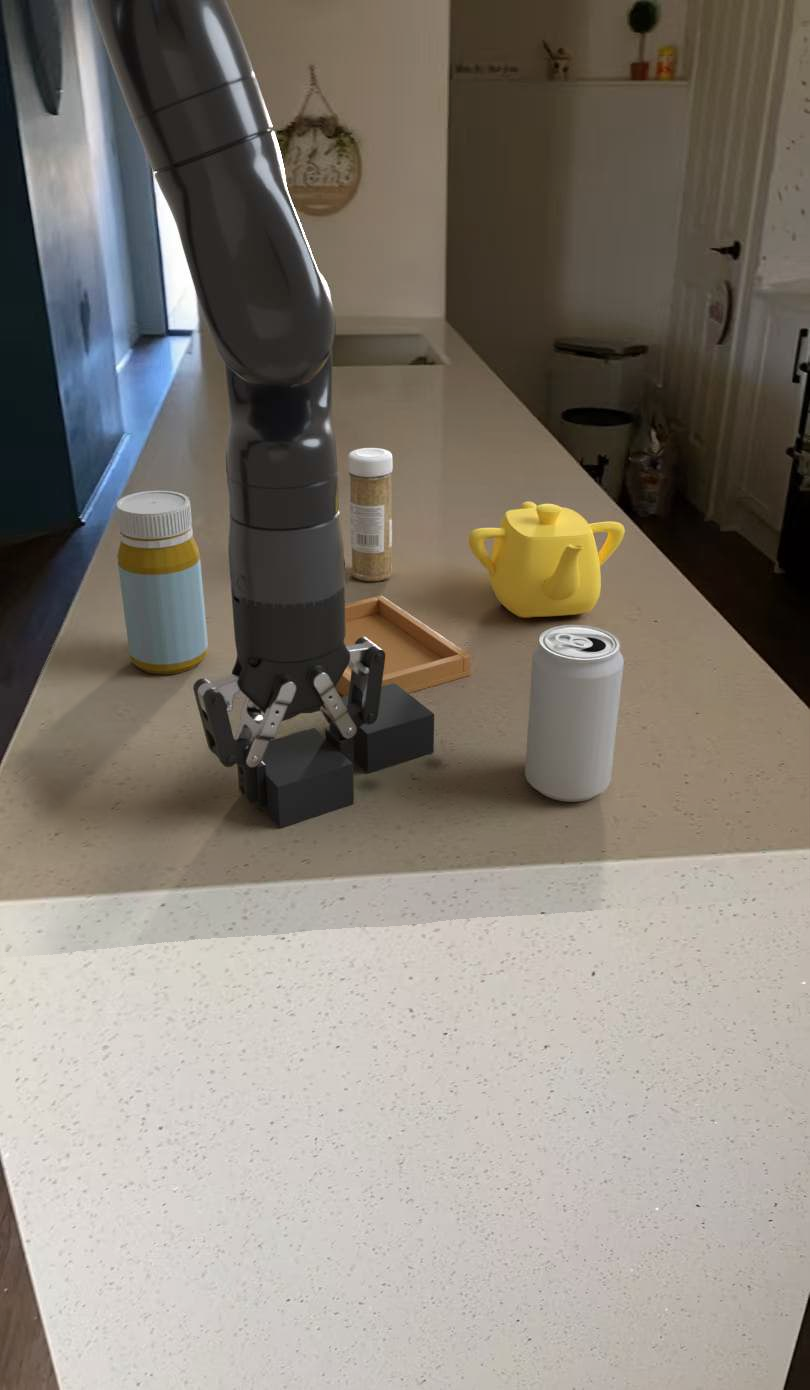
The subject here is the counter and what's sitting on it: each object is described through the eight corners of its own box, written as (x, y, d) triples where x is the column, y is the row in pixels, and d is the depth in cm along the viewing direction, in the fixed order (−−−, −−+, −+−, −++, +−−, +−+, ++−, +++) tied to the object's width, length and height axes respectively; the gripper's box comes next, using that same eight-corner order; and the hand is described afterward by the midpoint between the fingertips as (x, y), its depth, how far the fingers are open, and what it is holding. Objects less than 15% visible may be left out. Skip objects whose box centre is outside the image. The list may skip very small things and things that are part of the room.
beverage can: (600, 815, 79) (617, 667, 73) (514, 797, 80) (523, 651, 75) (616, 770, 84) (633, 629, 78) (535, 754, 86) (546, 615, 80)
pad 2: (367, 773, 83) (367, 734, 82) (330, 738, 88) (329, 700, 86) (433, 752, 86) (434, 713, 84) (394, 719, 90) (394, 682, 89)
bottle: (185, 682, 96) (168, 519, 89) (116, 669, 98) (94, 509, 91) (221, 649, 102) (209, 494, 95) (155, 638, 104) (138, 485, 96)
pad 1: (279, 828, 77) (277, 787, 75) (244, 788, 81) (241, 748, 80) (353, 804, 80) (353, 763, 78) (316, 766, 84) (314, 727, 82)
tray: (357, 708, 92) (356, 687, 91) (276, 639, 104) (275, 620, 103) (470, 675, 97) (471, 655, 96) (381, 613, 109) (381, 595, 108)
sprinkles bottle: (400, 571, 119) (400, 450, 112) (379, 586, 115) (378, 461, 109) (363, 564, 121) (362, 444, 114) (342, 577, 117) (339, 454, 111)
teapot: (635, 602, 112) (647, 506, 107) (571, 644, 103) (580, 541, 98) (523, 570, 119) (529, 478, 115) (454, 606, 111) (457, 509, 106)
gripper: (354, 540, 78) (358, 740, 86) (163, 579, 72) (186, 793, 80) (409, 574, 73) (407, 785, 81) (208, 621, 66) (228, 846, 74)
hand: (297, 788), depth 80 cm, fingers closed on pad 1, 6 cm apart
